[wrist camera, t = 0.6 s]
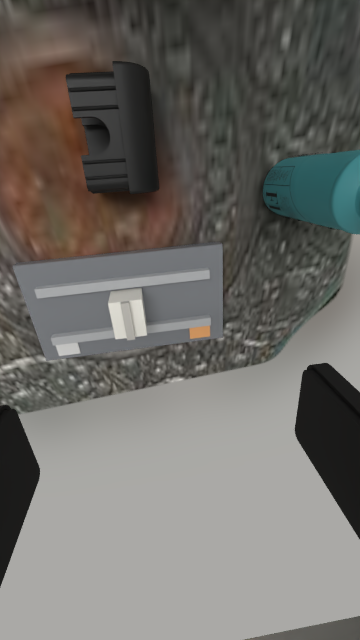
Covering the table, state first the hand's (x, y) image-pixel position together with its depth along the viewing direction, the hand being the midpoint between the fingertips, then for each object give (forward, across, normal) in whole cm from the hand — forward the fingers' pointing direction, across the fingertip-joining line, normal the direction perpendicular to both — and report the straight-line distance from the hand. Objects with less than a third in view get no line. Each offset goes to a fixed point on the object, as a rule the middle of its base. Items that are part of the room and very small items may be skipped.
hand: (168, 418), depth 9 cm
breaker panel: (+31, +4, +7) cm, 32 cm away
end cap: (+30, +2, -12) cm, 32 cm away
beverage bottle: (+30, -17, -6) cm, 35 cm away
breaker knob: (+29, +3, +7) cm, 30 cm away
